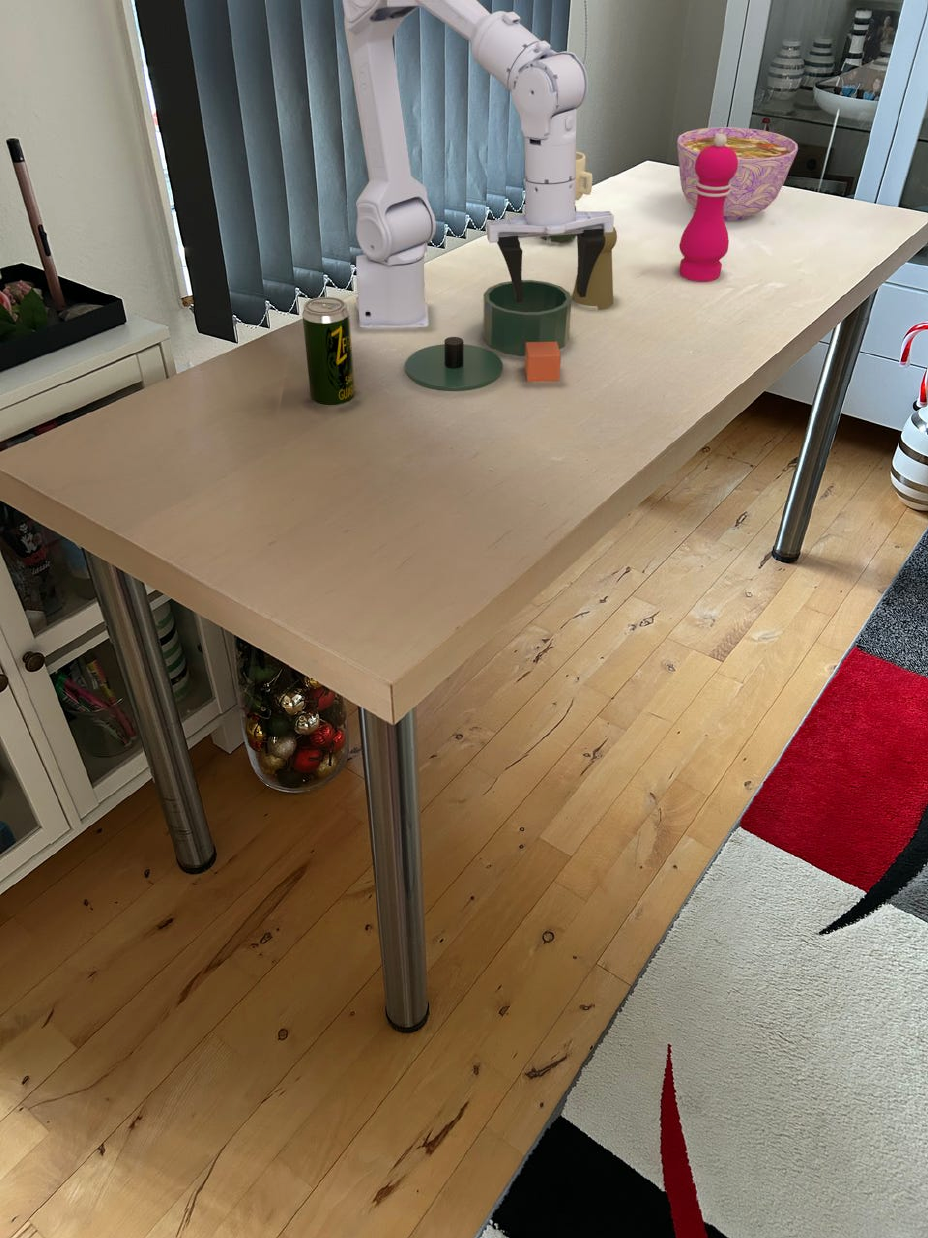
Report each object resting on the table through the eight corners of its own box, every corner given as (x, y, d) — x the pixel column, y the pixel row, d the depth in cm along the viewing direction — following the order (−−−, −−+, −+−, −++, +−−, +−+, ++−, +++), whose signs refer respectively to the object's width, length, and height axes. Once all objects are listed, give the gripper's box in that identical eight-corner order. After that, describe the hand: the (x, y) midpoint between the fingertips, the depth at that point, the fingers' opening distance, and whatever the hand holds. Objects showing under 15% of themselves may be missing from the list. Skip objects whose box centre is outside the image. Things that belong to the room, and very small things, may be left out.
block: (526, 385, 126) (528, 355, 123) (524, 371, 129) (525, 341, 126) (558, 385, 126) (560, 355, 123) (555, 370, 129) (557, 341, 126)
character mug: (518, 238, 166) (521, 154, 158) (541, 226, 171) (545, 144, 162) (575, 252, 161) (582, 166, 153) (597, 239, 166) (604, 155, 157)
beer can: (303, 407, 121) (293, 311, 113) (321, 387, 125) (312, 293, 117) (345, 413, 120) (337, 317, 112) (362, 393, 124) (355, 299, 116)
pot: (485, 360, 131) (486, 314, 127) (480, 324, 140) (481, 280, 136) (572, 358, 132) (576, 313, 128) (562, 322, 140) (565, 279, 136)
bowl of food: (650, 199, 182) (658, 130, 175) (752, 191, 186) (764, 123, 178) (696, 236, 167) (707, 163, 160) (805, 227, 171) (821, 154, 163)
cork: (611, 311, 143) (619, 233, 136) (569, 307, 144) (575, 229, 137) (615, 295, 148) (622, 218, 141) (574, 291, 149) (580, 215, 142)
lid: (405, 396, 123) (404, 363, 121) (405, 351, 133) (404, 320, 130) (506, 394, 124) (507, 361, 121) (498, 350, 133) (499, 319, 131)
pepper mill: (670, 278, 153) (690, 137, 140) (681, 262, 158) (701, 124, 145) (718, 285, 151) (742, 143, 138) (727, 269, 156) (751, 130, 143)
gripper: (491, 191, 110) (495, 313, 118) (621, 181, 110) (616, 302, 119) (483, 176, 115) (487, 293, 123) (607, 165, 116) (603, 283, 124)
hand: (550, 297), depth 121 cm, fingers open, 7 cm apart
